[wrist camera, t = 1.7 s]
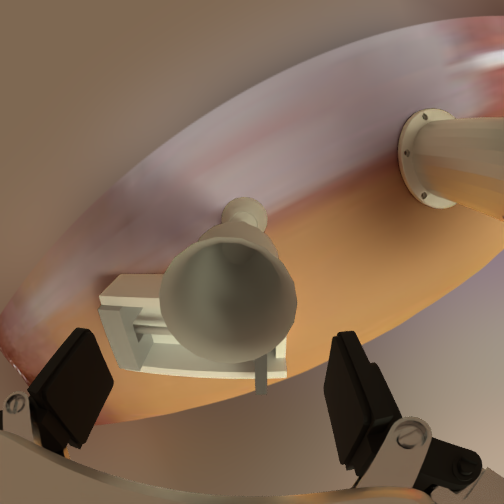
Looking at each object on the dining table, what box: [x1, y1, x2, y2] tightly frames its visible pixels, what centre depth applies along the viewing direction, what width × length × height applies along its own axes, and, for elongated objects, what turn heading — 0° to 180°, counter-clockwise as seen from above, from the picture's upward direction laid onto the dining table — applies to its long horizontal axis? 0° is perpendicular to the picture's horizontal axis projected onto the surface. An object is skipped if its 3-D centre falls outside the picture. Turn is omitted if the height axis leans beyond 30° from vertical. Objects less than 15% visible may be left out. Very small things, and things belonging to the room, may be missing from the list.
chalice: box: [159, 197, 297, 363], centre depth 21 cm, size 7×7×18 cm
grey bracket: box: [98, 274, 287, 379], centre depth 31 cm, size 21×11×7 cm, turn 92°
